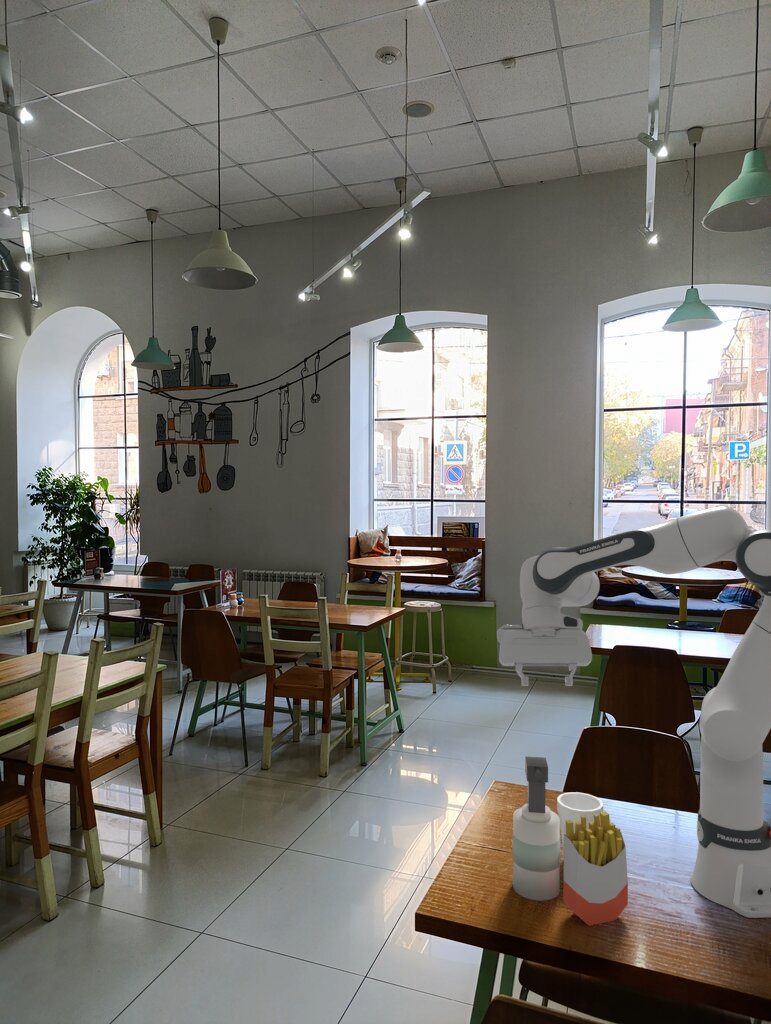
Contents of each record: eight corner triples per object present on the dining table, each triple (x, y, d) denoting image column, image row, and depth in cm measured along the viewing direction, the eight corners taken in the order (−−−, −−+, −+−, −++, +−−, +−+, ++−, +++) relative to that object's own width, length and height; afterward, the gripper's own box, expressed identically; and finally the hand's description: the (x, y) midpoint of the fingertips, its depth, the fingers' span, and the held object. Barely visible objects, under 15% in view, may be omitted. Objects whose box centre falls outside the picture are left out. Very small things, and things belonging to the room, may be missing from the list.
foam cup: (605, 877, 135) (605, 813, 135) (558, 872, 137) (558, 809, 137) (599, 853, 145) (600, 794, 145) (556, 849, 146) (556, 790, 146)
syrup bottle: (557, 876, 135) (557, 771, 135) (562, 903, 126) (563, 789, 126) (511, 873, 137) (511, 768, 137) (513, 898, 128) (513, 786, 128)
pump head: (545, 803, 134) (545, 757, 134) (550, 824, 125) (550, 775, 125) (525, 802, 134) (525, 756, 134) (528, 822, 125) (528, 773, 125)
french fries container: (629, 919, 121) (629, 820, 121) (577, 929, 118) (577, 828, 118) (613, 905, 126) (614, 809, 126) (563, 914, 123) (563, 817, 123)
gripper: (496, 620, 150) (499, 681, 144) (589, 620, 148) (596, 682, 142) (495, 629, 156) (498, 688, 149) (584, 628, 154) (591, 689, 147)
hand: (547, 685), depth 146 cm, fingers open, 8 cm apart
